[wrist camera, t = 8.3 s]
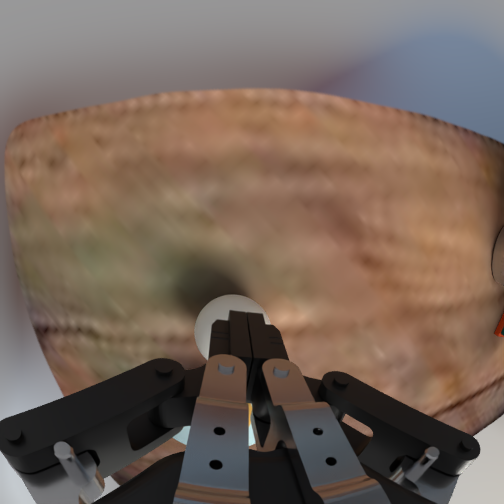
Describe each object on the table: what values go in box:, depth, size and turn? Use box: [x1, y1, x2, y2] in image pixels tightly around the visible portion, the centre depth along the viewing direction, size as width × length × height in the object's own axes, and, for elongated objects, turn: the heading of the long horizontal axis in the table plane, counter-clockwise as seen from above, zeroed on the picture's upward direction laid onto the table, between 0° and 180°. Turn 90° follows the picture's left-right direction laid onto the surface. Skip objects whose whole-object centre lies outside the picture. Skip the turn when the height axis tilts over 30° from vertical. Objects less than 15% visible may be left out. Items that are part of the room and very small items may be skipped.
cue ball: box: [194, 294, 271, 360], centre depth 21 cm, size 6×6×6 cm
